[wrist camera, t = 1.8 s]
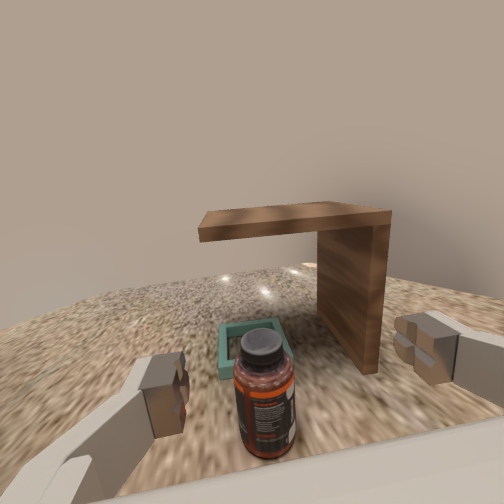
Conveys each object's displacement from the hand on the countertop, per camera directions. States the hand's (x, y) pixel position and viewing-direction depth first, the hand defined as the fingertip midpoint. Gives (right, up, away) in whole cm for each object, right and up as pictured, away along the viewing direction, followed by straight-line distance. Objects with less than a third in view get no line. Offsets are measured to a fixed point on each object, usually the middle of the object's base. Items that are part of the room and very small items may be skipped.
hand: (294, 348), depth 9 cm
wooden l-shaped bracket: (+4, -11, +29) cm, 32 cm away
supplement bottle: (0, -16, +16) cm, 23 cm away
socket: (-1, -12, +29) cm, 31 cm away
